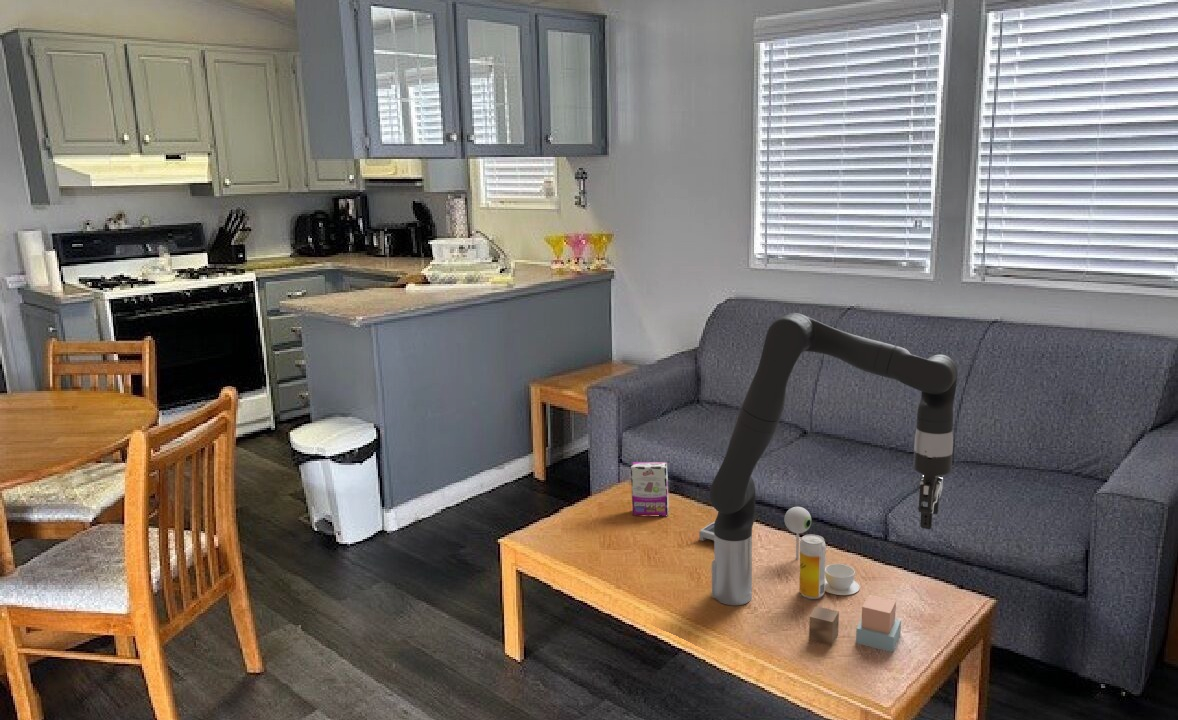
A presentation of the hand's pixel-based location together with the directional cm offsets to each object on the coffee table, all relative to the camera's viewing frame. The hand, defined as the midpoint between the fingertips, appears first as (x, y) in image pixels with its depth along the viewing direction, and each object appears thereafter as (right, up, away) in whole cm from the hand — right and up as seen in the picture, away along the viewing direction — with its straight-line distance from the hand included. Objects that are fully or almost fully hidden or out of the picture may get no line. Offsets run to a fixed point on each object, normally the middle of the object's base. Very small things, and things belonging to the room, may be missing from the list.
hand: (929, 520), depth 179 cm
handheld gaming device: (-34, -17, +64) cm, 74 cm away
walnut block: (-20, -29, +10) cm, 36 cm away
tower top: (-8, -25, +8) cm, 27 cm away
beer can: (-18, -24, +29) cm, 42 cm away
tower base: (-8, -29, +9) cm, 31 cm away
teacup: (-10, -23, +32) cm, 41 cm away
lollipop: (-17, -20, +48) cm, 54 cm away
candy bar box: (-54, -14, +82) cm, 99 cm away
